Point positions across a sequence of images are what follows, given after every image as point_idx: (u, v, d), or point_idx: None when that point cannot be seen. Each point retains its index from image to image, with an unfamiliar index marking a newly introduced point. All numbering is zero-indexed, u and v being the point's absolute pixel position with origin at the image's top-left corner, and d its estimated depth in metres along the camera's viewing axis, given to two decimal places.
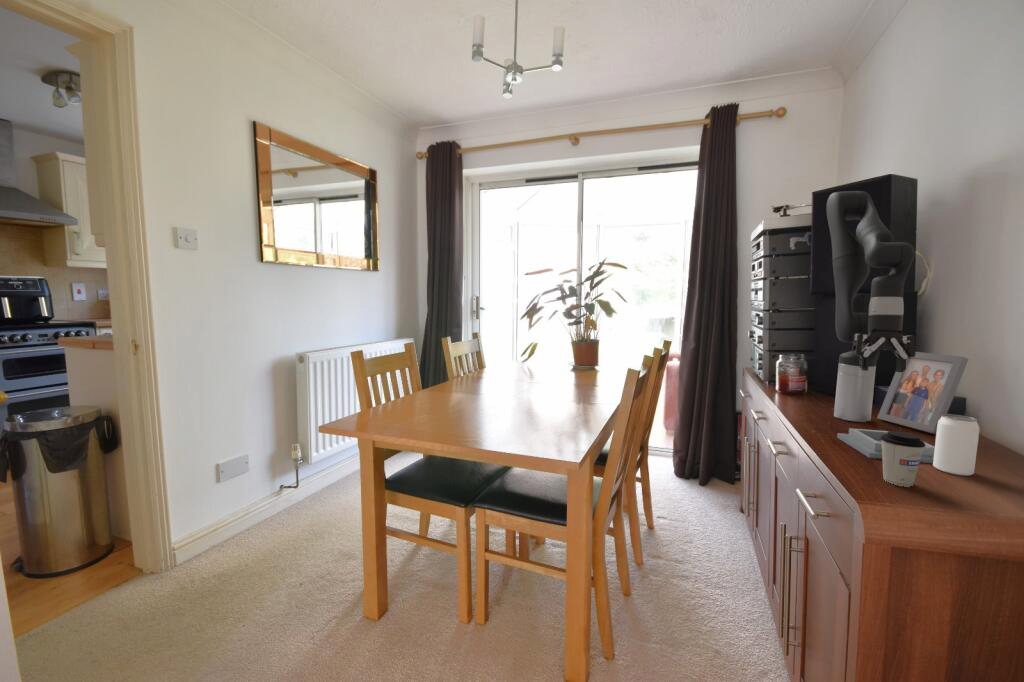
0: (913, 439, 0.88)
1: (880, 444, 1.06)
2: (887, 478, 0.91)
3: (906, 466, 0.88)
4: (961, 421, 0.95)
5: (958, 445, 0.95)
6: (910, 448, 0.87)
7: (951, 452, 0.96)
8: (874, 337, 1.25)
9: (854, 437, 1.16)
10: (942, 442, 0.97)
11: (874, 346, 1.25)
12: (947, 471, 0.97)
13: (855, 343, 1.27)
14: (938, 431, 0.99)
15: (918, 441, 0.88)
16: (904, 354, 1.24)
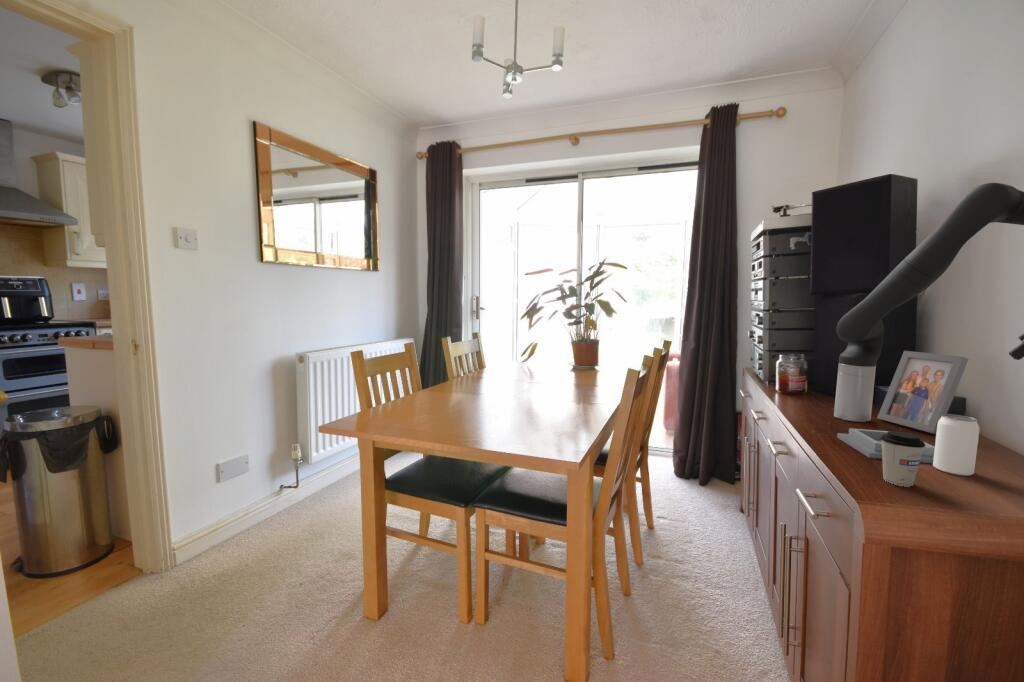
0: (913, 439, 0.88)
1: (880, 444, 1.06)
2: (887, 478, 0.91)
3: (906, 466, 0.88)
4: (961, 421, 0.95)
5: (958, 445, 0.95)
6: (910, 448, 0.87)
7: (951, 452, 0.96)
8: None
9: (854, 437, 1.16)
10: (942, 442, 0.97)
11: None
12: (947, 471, 0.97)
13: None
14: (938, 431, 0.99)
15: (918, 441, 0.88)
16: None
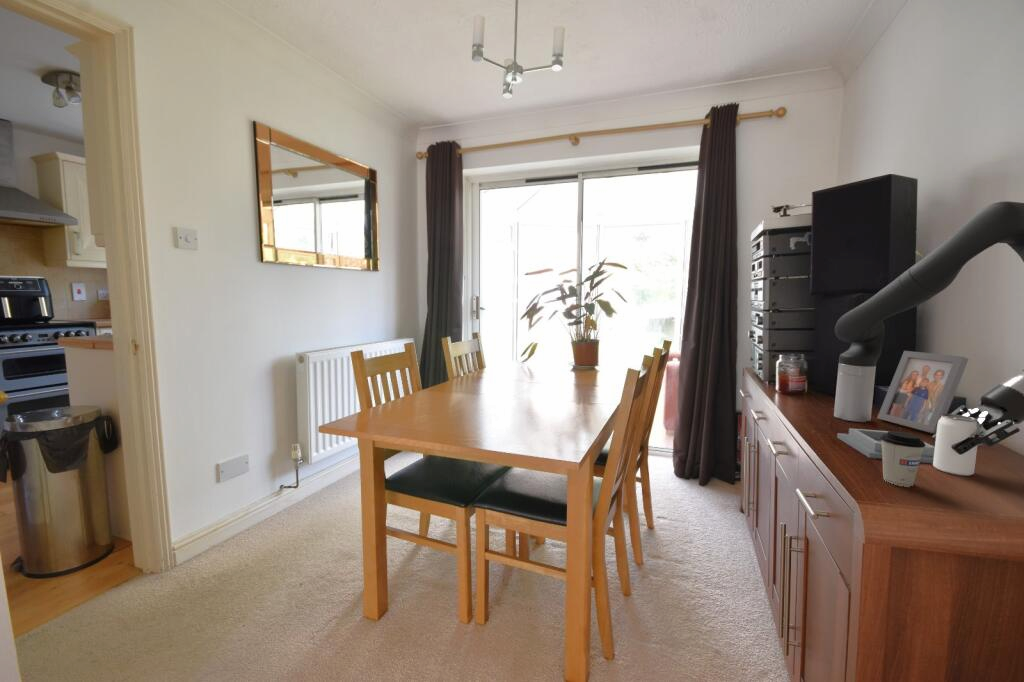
0: (913, 439, 0.88)
1: (880, 444, 1.06)
2: (887, 478, 0.91)
3: (906, 466, 0.88)
4: (961, 421, 0.95)
5: None
6: (910, 448, 0.87)
7: (951, 452, 0.96)
8: None
9: (854, 437, 1.16)
10: (942, 442, 0.97)
11: None
12: (947, 471, 0.97)
13: (1002, 434, 0.90)
14: (938, 431, 0.99)
15: (918, 441, 0.88)
16: None
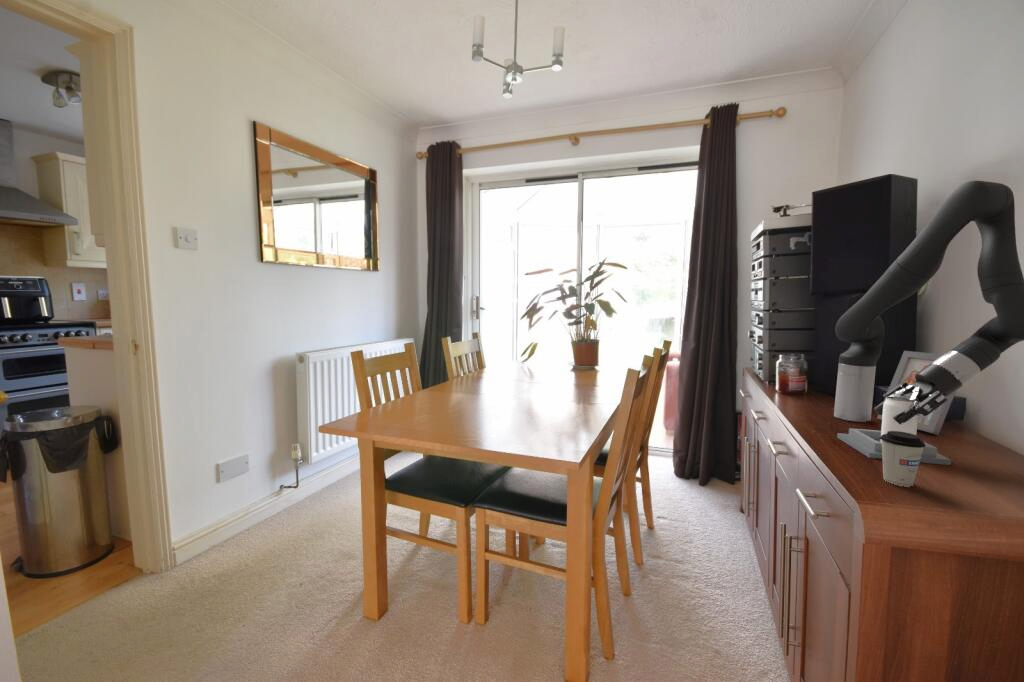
0: (913, 439, 0.88)
1: (880, 444, 1.06)
2: (887, 478, 0.91)
3: (906, 466, 0.88)
4: (902, 401, 1.06)
5: None
6: (910, 448, 0.87)
7: (894, 429, 1.07)
8: None
9: (854, 437, 1.16)
10: (887, 421, 1.08)
11: None
12: None
13: (934, 404, 1.02)
14: (883, 412, 1.10)
15: (918, 441, 0.88)
16: None
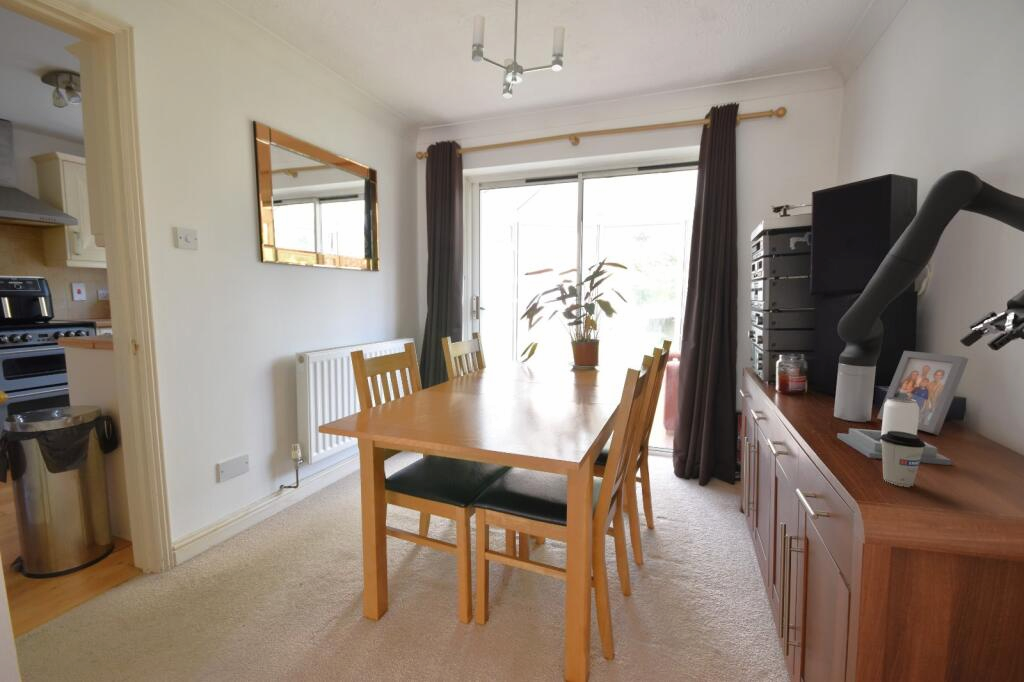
0: (913, 439, 0.88)
1: (880, 444, 1.06)
2: (887, 478, 0.91)
3: (906, 466, 0.88)
4: (903, 403, 1.06)
5: (900, 424, 1.06)
6: (910, 448, 0.87)
7: (895, 430, 1.07)
8: None
9: (854, 437, 1.16)
10: (887, 422, 1.08)
11: None
12: None
13: None
14: (884, 412, 1.09)
15: (918, 441, 0.88)
16: None
